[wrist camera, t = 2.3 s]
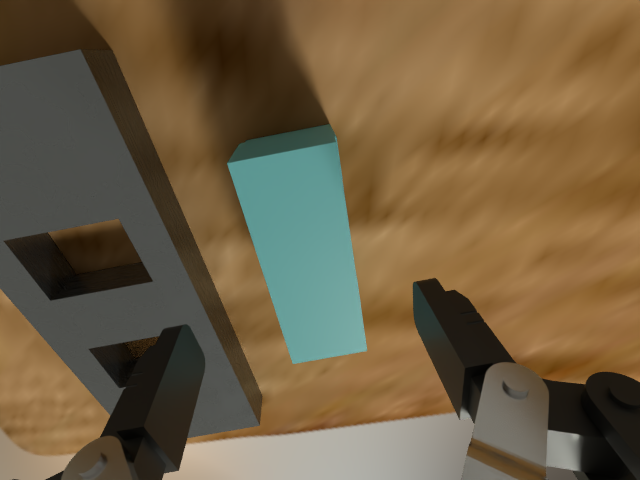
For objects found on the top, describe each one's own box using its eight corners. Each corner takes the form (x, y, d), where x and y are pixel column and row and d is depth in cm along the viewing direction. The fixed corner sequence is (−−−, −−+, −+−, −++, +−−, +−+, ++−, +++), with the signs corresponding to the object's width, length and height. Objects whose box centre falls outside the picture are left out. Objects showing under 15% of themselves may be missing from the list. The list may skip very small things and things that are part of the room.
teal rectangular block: (328, 113, 17) (343, 140, 11) (353, 280, 22) (372, 350, 17) (243, 130, 17) (220, 164, 12) (289, 292, 22) (288, 364, 17)
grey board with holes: (112, 50, 15) (80, 49, 12) (262, 396, 28) (259, 425, 25) (-97, 93, 15) (-164, 99, 13) (149, 416, 28) (137, 446, 26)
